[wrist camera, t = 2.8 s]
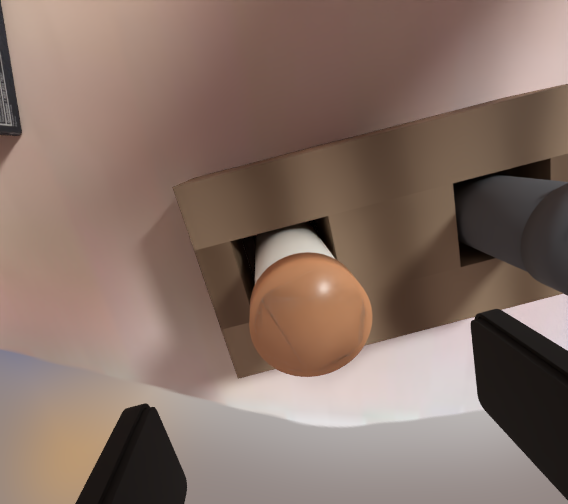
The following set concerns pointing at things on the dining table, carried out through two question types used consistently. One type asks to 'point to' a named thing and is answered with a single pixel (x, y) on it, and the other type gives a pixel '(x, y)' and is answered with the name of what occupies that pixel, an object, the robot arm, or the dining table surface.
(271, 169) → the block
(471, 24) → the dining table surface
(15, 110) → the small box
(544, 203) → the black plug
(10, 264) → the dining table surface
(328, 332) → the orange-brown and white plug
